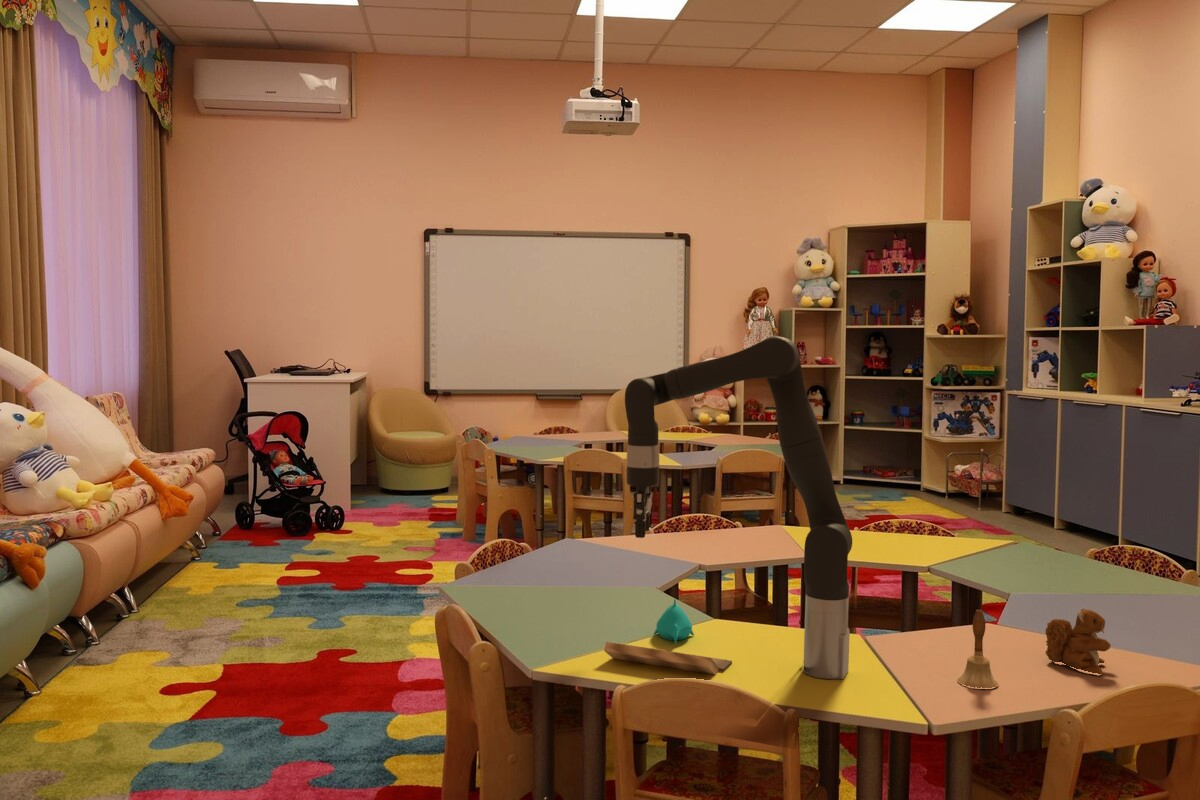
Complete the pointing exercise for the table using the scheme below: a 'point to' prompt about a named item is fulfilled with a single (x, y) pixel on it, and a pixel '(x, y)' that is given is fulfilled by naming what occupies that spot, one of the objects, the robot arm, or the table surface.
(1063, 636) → the stuffed squirrel
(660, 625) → the toy shark
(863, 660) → the table surface
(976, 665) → the hand bell
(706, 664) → the plank
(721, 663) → the base strip
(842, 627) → the robot arm
